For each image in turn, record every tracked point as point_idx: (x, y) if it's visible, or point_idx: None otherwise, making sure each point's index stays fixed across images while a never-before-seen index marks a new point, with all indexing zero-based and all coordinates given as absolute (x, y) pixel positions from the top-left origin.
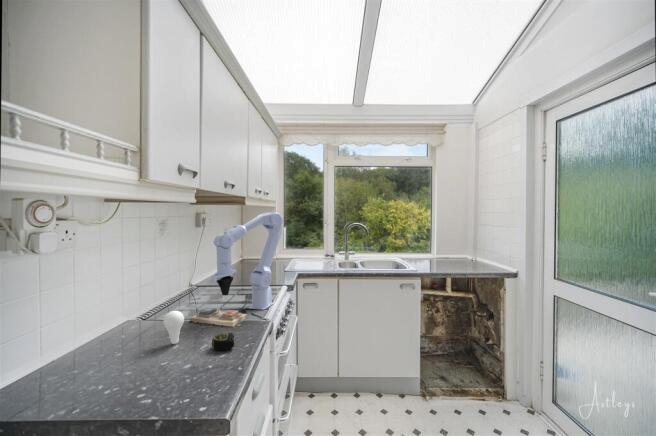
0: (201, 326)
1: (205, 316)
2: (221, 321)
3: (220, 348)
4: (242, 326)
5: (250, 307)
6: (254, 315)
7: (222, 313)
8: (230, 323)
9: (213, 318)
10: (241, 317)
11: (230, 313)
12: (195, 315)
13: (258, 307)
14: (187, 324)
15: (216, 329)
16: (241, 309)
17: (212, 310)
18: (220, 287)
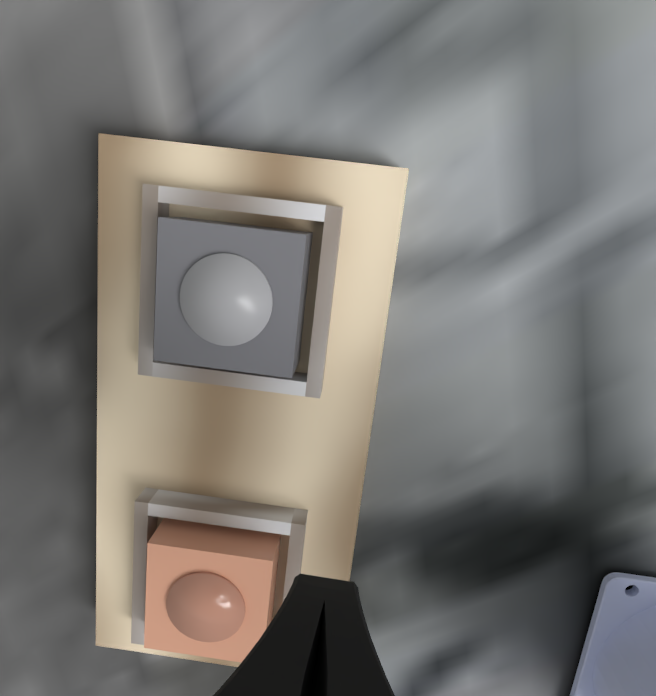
0: (45, 348)
1: (144, 324)
2: (97, 538)
3: None
4: (140, 683)
5: (611, 600)
6: (406, 687)
7: (313, 436)
8: (99, 619)
9: (152, 419)
10: (237, 665)
11: (172, 621)
12: (191, 144)
13: (595, 687)
14: (48, 164)
15: (27, 517)
16: (581, 505)
17: (228, 369)
18: (233, 686)
